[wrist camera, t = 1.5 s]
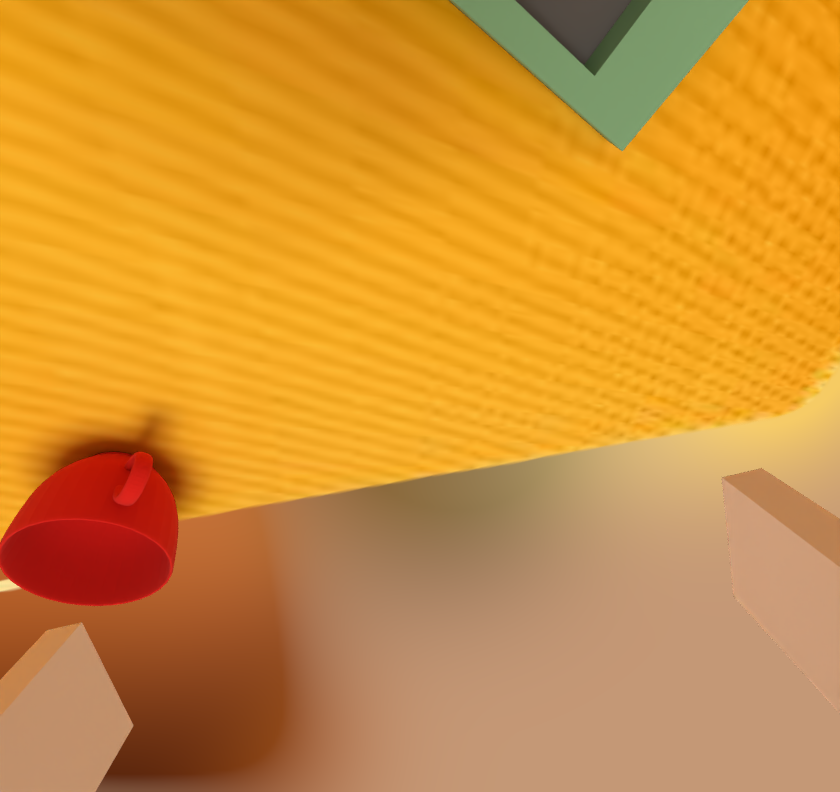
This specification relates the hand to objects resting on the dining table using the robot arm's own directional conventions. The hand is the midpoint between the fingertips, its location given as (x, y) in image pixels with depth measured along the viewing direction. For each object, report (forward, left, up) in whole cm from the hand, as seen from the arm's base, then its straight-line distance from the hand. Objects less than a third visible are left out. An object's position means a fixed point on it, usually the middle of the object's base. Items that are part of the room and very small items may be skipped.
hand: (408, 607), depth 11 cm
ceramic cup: (+16, -33, -33) cm, 49 cm away
